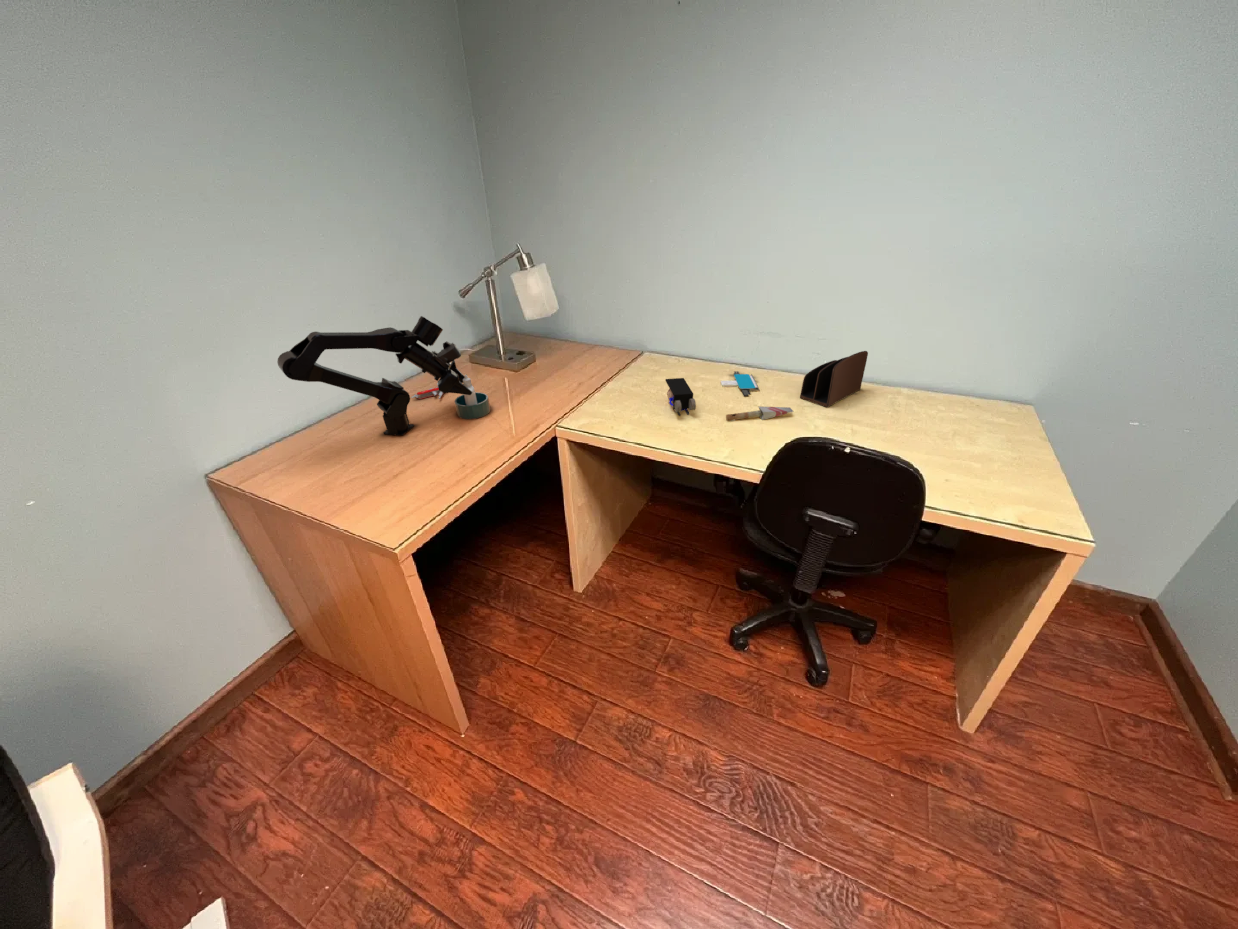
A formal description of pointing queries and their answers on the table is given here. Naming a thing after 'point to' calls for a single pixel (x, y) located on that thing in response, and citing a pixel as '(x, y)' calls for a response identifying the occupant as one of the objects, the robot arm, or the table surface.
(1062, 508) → the table surface
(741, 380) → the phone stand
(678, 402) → the black block with wheels
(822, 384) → the letter holder
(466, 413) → the teal bowl
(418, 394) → the swiss army knife
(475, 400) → the eye dropper bottle
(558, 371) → the table surface
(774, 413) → the paintbrush
